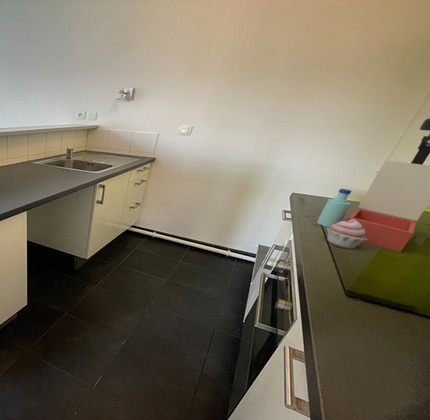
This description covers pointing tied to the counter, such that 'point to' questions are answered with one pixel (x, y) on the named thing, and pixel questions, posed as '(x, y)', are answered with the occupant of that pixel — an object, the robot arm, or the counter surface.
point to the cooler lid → (399, 190)
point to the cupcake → (346, 234)
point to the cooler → (384, 229)
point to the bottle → (335, 209)
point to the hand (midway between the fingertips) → (402, 186)
